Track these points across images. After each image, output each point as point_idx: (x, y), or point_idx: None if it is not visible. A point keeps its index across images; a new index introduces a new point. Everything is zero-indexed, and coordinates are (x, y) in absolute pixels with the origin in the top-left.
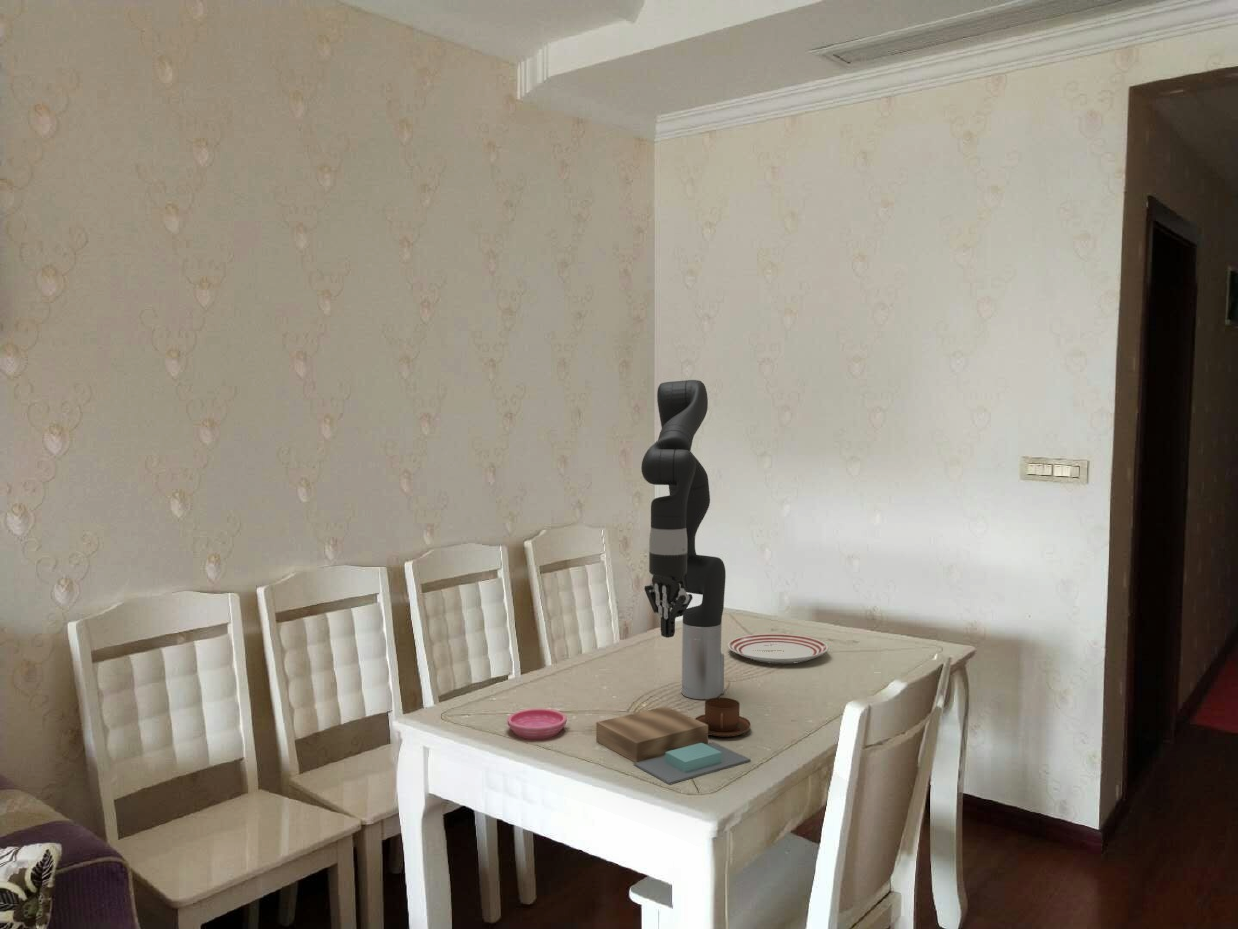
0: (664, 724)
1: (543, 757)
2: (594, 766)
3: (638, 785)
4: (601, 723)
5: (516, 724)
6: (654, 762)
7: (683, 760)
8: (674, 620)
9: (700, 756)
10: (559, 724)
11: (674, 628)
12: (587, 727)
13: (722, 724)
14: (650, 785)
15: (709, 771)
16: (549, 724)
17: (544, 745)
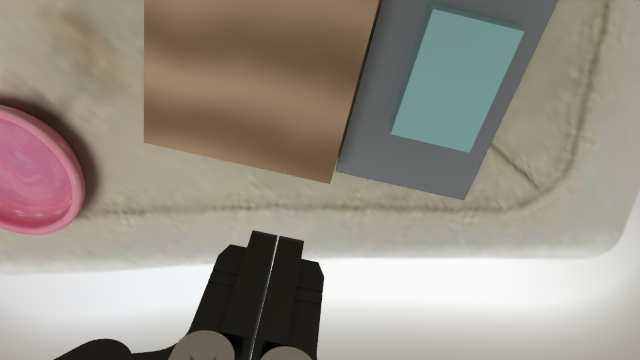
0: (286, 24)
1: (174, 245)
2: (278, 219)
3: (411, 232)
4: (160, 141)
5: (28, 232)
6: (370, 140)
7: (461, 147)
8: (314, 355)
9: (486, 100)
10: (74, 172)
11: (320, 301)
12: (61, 60)
13: None
14: (431, 219)
15: (513, 94)
16: (12, 131)
17: (117, 205)
